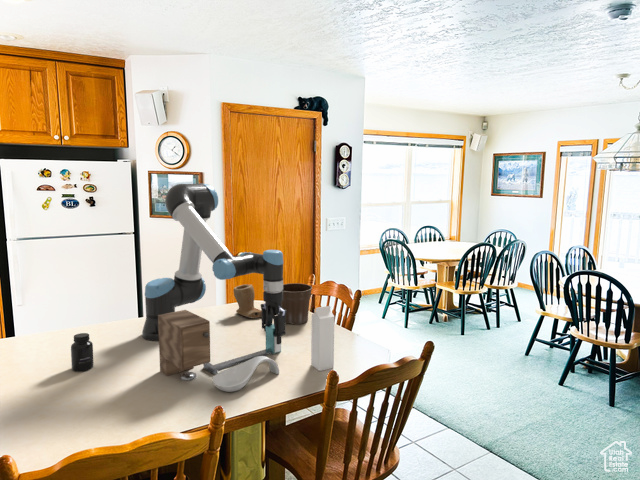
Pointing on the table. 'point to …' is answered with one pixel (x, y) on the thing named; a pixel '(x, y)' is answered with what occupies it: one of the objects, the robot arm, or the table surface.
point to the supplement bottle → (82, 353)
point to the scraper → (269, 350)
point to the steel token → (188, 376)
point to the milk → (322, 339)
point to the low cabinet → (183, 341)
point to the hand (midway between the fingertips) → (273, 349)
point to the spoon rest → (241, 374)
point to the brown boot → (246, 301)
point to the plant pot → (296, 302)
